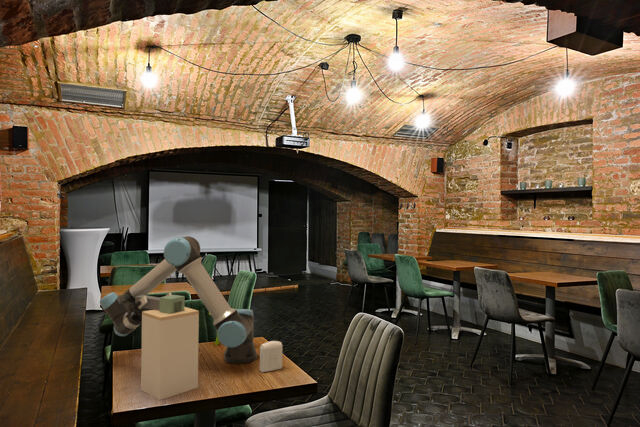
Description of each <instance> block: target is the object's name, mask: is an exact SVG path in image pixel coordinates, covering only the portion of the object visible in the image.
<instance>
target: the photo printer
mask: <svg viewBox="0 0 640 427" xmlns="http://www.w3.org/2000/svg"><path fill="white" fill-rule="evenodd" d="M282 368H283V344H282V342H281V341H277V340H270V341H265V342H264V343H262V344H260V346H259V372H261V373H265V372H271V371H278V370H281V369H282Z"/></svg>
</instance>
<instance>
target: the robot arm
mask: <svg viewBox="0 0 640 427" xmlns="http://www.w3.org/2000/svg"><path fill="white" fill-rule="evenodd" d="M200 252H201V245H200V242H199V241H198V239H196V238H194V237H192V236H182V237H175V238H173V239H171V240H169V241H168V242H167V243H166V244H165V245H164V249H163V257H164V259H163V260H162V261H161V262H159V263H158V264H157V265H156V266H154V268H152V269H151V270H150V271H149V272H147V273H146V274H145V275H143V277H141V278H140V279H139V280H137V281H136V283H134V284H133V285H132V286H130V287H129V288H128V289H127V290H126V291H124V292H123V293H121V294H119V295H118V294H117V293H116V292H113V291H112V292H110V293H108V294H106V295H104V296H103V297H102V298H101V299H100V300H99V304H100V306H101V307H102V310H103V311H104V312H105V314H107V316H108V318H109V319H110V320H111V321H112V323H113V324H114V325H113V331H114V333H115V335H117V336H119V337H126V336H128V335H129V334H131V333H132V332H134V331H135V330H136V329H137V328H138V327H139V326H140V325H142V312H143V311H149V310H153V309H147V308H141V307H143V306H144V305H145V304H146V303H147V299H146V296H144V297H142V298H141V299H140V300H139V301H138V302H137V303H135V297H136V296H141V295H147V296H148V295H149V294H150V293H151V292H152V291H153V290H154V289H156V288H157V287H159V285H161V284H162V283H163V282H165V280H167V278H169V277H170V276H171V275H173V274H174V273H175V272H176V271H177V272H178V273H179V274H183V275H184V276H185V277H186V279H187V281H188V282H189V284H190V285H191V287H192V289H193V290H194V291H195V293H196V294H197V296H198V297H199V299H200V300H201V302H202V303H203V305H204V307H205V308H206V309H207V311H208V314H209V313H210V314H211V315H210V316H211V317H212V318H213V327H214V328H215V329H216V332H217V331H218V339H219V341H220V342H219V343H220V344H221V345H222V346H223V347H226V348H225V351H224V354H223V359H224V361H225V362H226V363H229V364H237V365H238V364H242V365H243V364H248V363H251V362H254V361H256V360H257V359H258V353H257V350H256V347H255V343H254V320H255V319H254V318H255V316H254V311H253V309H247V308H232V307H231V306H230V304H229V303H228V301H227V300H226V299H225V297H224V296H223V294H222V293H221V291H220V289H219V287H218V286H217V284H216V283H215V282H214V281H213V279H212V277H211V276H210V274H209V273H208V271H207V270H206V268H205V266H204V265H203V264H202V261H203V260H202V259H203V257H202V256H201V254H200ZM170 295H172V292H168V293H167V294H165V296H170Z"/></svg>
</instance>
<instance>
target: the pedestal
mask: <svg viewBox="0 0 640 427" xmlns="http://www.w3.org/2000/svg"><path fill="white" fill-rule="evenodd" d="M199 315H200V311H199V310H198V309H197V310H196V309H194V308H190V307H187V306H185V310H184V311H180V312H176V313H171V314H169V313H163V312H159V310H149V311H143V312H142V324H141V357H140V358H141V359H140V360H141V362H140V363H141V364H140V365H141V368H140V369H141V371H140V372H141V374H140V375H141V376H140V377H141V378H140V390H141V391H142V392H145V393H146V394H147V395H150V396H152V397H153V398H155V399H156V400H159V401H161V400H164V399H167V398H170V397H174V396H177V395H180V394H182V393H185V392H188V391H192V390H195V389H198V388H199V327H200V324H199V320H200V318H199V317H200V316H199Z"/></svg>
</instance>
